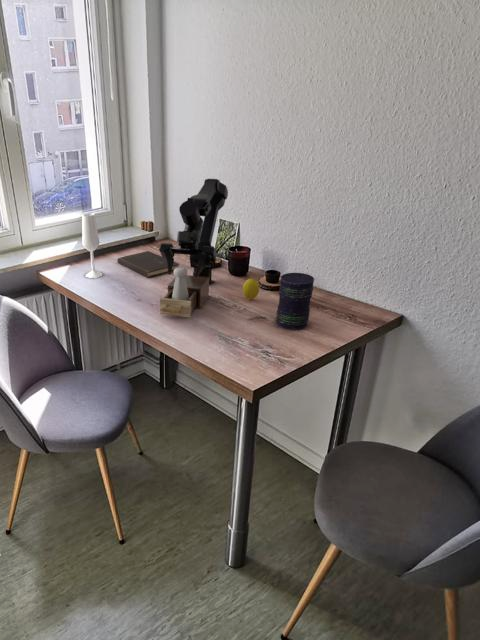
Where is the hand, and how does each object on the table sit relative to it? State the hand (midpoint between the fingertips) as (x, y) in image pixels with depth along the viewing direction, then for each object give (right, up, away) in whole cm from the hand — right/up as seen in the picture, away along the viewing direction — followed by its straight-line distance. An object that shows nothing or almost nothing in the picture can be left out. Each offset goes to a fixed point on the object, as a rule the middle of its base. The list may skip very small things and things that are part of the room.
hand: (182, 275), depth 165 cm
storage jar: (+34, -17, -7) cm, 39 cm away
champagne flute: (-33, +8, +38) cm, 51 cm away
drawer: (-1, -12, +2) cm, 12 cm away
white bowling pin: (0, -10, +3) cm, 10 cm away
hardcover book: (-11, +14, +45) cm, 48 cm away
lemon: (+25, -6, +10) cm, 28 cm away
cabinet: (+3, -6, +12) cm, 14 cm away
